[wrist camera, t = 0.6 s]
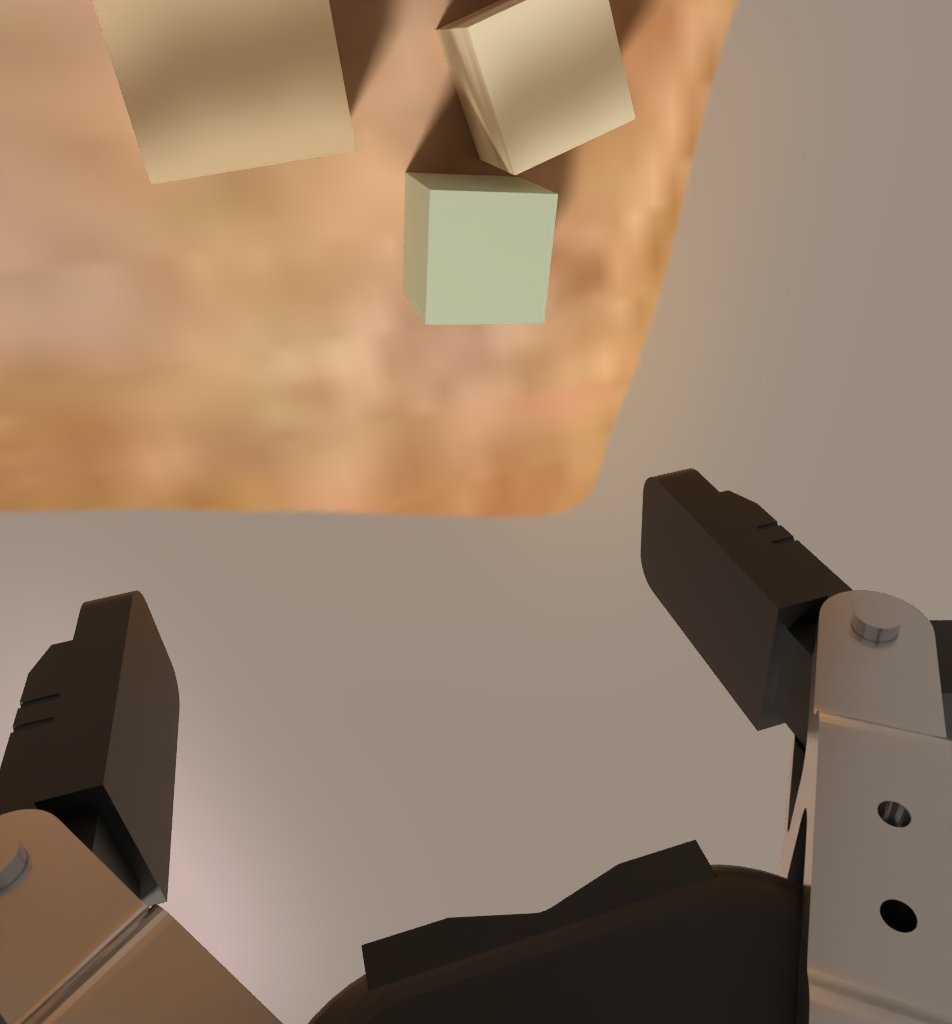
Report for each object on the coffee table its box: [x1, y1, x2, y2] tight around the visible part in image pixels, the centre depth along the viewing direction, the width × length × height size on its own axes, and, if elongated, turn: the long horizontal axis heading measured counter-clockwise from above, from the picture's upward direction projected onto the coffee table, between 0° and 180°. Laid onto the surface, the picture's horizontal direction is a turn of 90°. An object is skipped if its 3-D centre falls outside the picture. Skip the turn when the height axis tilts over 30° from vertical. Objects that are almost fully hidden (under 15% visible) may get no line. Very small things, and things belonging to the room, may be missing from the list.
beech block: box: [436, 0, 635, 175], centre depth 30 cm, size 5×5×5 cm
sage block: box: [403, 172, 558, 325], centre depth 32 cm, size 5×5×5 cm
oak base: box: [92, 0, 356, 184], centre depth 27 cm, size 7×7×5 cm
